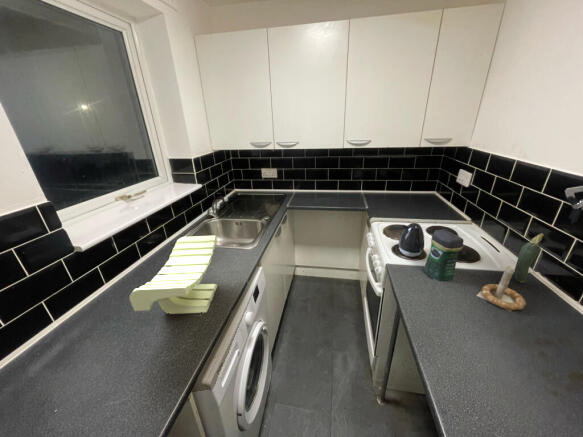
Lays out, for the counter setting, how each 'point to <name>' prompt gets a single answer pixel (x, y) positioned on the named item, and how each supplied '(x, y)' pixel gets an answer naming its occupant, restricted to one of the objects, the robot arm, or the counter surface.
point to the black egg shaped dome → (412, 240)
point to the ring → (517, 305)
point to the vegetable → (527, 258)
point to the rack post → (503, 287)
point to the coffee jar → (443, 255)
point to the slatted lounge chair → (180, 279)
